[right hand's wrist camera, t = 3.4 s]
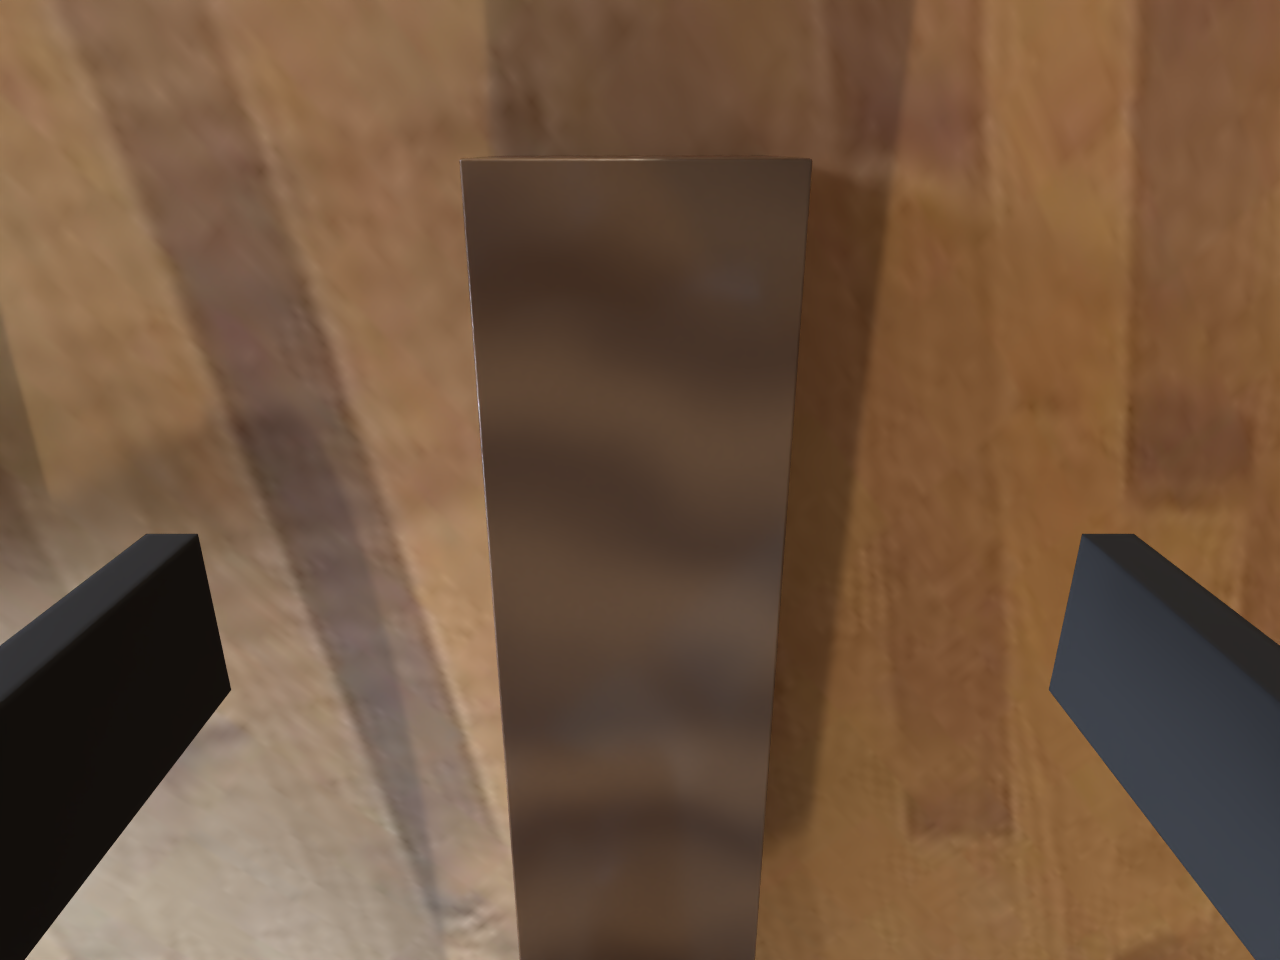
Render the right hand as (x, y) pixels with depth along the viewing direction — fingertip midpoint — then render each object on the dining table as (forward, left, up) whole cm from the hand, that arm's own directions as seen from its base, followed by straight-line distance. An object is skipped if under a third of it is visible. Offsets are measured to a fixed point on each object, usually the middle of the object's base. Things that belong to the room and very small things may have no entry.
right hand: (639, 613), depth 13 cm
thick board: (+2, -24, -20) cm, 32 cm away
